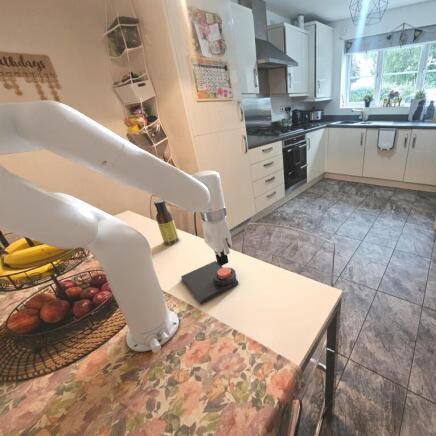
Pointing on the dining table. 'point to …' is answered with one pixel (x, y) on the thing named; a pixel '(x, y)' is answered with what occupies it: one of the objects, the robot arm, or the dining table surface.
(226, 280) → the black flat block
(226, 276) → the button
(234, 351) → the dining table surface
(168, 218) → the sauce bottle
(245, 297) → the dining table surface
